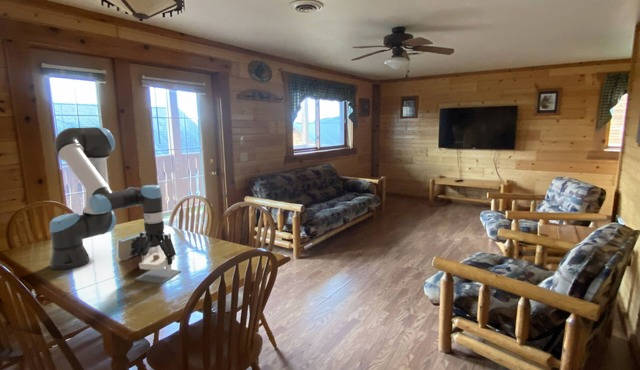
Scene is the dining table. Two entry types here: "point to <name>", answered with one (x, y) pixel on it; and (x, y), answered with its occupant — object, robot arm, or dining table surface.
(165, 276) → the mat
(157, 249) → the jar
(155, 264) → the lid
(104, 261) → the dining table surface
